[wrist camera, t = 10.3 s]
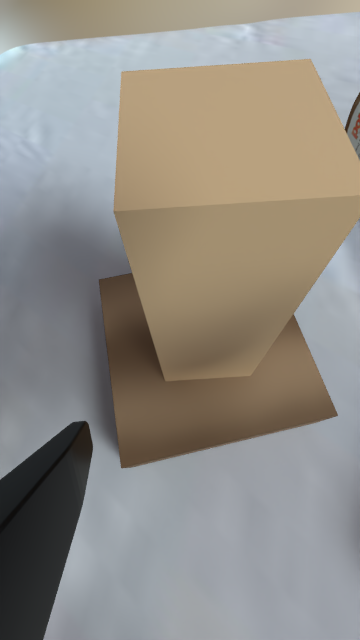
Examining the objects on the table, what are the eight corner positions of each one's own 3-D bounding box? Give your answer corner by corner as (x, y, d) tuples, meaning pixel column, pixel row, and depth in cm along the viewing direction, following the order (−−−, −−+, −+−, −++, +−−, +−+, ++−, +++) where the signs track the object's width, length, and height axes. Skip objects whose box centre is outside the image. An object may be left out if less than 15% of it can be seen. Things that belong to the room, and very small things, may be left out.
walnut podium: (316, 422, 19) (338, 415, 16) (131, 467, 18) (121, 468, 15) (255, 271, 24) (264, 246, 21) (109, 300, 23) (98, 279, 21)
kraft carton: (250, 375, 17) (375, 194, 6) (165, 381, 17) (113, 210, 6) (238, 301, 20) (310, 59, 8) (162, 306, 20) (121, 71, 8)
